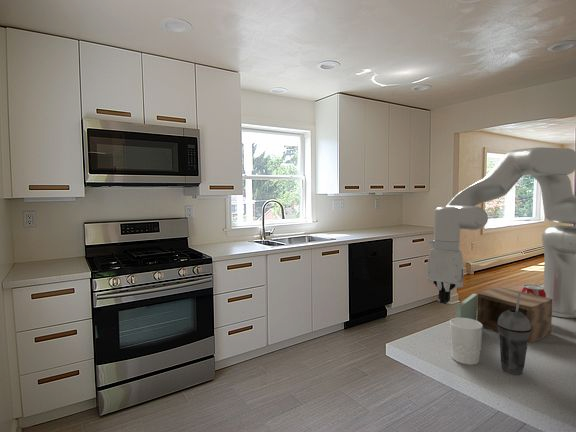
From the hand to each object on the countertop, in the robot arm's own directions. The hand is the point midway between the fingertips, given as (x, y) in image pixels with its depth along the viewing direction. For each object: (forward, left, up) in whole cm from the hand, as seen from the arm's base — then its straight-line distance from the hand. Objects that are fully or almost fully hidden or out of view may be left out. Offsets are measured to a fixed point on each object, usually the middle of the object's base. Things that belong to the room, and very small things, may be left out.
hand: (444, 302), depth 112 cm
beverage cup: (+7, +25, -10) cm, 27 cm away
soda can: (-32, +12, -10) cm, 35 cm away
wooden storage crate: (-19, +12, -9) cm, 24 cm away
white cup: (+11, +15, -10) cm, 21 cm away
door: (-4, +5, -9) cm, 11 cm away
